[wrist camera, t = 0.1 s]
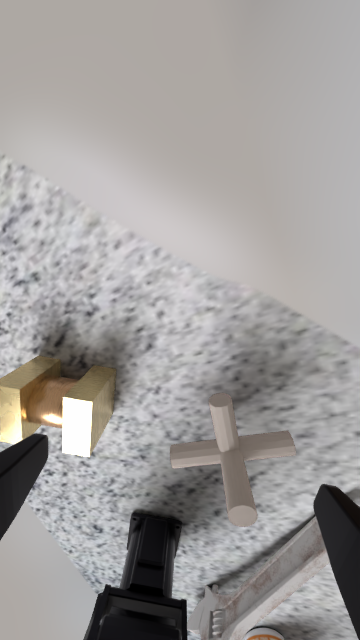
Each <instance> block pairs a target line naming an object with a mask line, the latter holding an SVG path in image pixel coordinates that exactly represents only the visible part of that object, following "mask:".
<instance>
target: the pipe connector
mask: <svg viewBox="0 0 360 640" xmlns="http://www.w3.org/2000/svg"><path fill="white" fill-rule="evenodd" d="M209 406H210V411H211V416H212V421H213V426H214V431H215V436H216V439H214V440H206V441H198V442H189V443H181V444H173V445H171V447H170V460H171V466H172V468H173V469H174V468H183V467H192V466H201V465H210V464H220V463H221V468H222V475H223V483H224V490H225V498H226V505H227V513H228V518H229V521H230V522H231V523H232V524H234V525H236V526H240V527H246V526H250V525H252V524H254V523H255V522H256V520H257V511H256V507H255V503H254V499H253V495H252V491H251V487H250V483H249V479H248V475H247V471H246V467H245V463H244V461H247V460H256V459H265V458H275V457H284V456H293V455H296V450H295V445H294V442H293V439H292V437H291V435H290V433H289V431H280V432H271V433H263V434H255V435H247V436H239V437H238V433H237V427H236V421H235V415H234V409H233V404H232V398H231V397H230V395H228V394H225V393H217V394H214V395H212V396H211V397H210V398H209Z"/></svg>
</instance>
